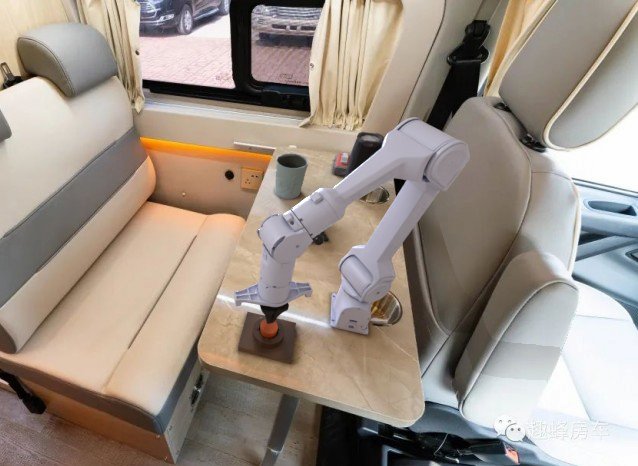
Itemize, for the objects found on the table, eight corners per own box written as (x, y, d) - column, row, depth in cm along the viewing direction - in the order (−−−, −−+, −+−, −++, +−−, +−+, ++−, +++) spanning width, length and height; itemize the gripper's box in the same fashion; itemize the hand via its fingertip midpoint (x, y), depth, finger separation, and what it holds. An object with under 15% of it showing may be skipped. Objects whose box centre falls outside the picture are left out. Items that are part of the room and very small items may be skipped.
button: (278, 325, 70) (279, 320, 69) (275, 340, 67) (276, 335, 66) (261, 321, 71) (262, 316, 70) (258, 336, 68) (259, 331, 67)
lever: (323, 246, 90) (327, 242, 87) (312, 247, 90) (316, 244, 87) (313, 206, 94) (316, 202, 91) (303, 207, 94) (306, 203, 91)
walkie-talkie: (355, 179, 118) (358, 154, 132) (359, 169, 115) (361, 144, 129) (330, 175, 120) (336, 150, 134) (333, 165, 117) (338, 140, 131)
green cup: (270, 197, 110) (273, 165, 102) (275, 181, 117) (279, 151, 109) (300, 202, 108) (306, 170, 100) (304, 186, 115) (310, 155, 107)
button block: (295, 326, 73) (297, 317, 71) (290, 364, 67) (292, 355, 64) (247, 315, 76) (247, 306, 73) (237, 350, 69) (238, 342, 67)
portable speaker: (366, 184, 115) (385, 131, 102) (367, 199, 109) (386, 145, 96) (341, 180, 117) (356, 128, 104) (340, 195, 111) (356, 141, 98)
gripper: (307, 254, 61) (297, 299, 71) (231, 263, 60) (231, 307, 69) (321, 284, 56) (308, 327, 65) (238, 294, 55) (236, 337, 64)
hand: (269, 319), depth 67 cm, fingers closed
